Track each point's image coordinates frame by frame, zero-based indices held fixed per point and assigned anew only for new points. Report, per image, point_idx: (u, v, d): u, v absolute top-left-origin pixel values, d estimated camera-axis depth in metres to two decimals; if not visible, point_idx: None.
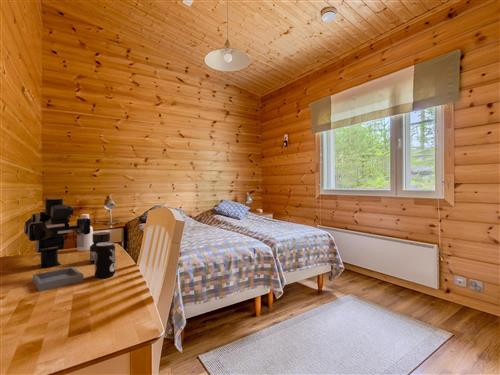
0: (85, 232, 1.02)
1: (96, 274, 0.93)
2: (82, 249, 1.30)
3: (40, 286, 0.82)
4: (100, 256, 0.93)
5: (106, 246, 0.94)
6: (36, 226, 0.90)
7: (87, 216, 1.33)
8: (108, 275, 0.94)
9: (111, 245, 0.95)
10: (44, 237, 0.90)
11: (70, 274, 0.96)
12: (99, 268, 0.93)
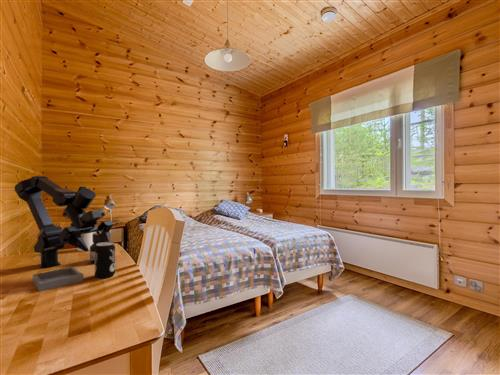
0: None
1: (96, 274, 0.93)
2: None
3: (40, 286, 0.82)
4: (100, 256, 0.93)
5: (106, 246, 0.94)
6: (73, 234, 0.91)
7: None
8: (108, 275, 0.94)
9: (111, 245, 0.95)
10: (76, 246, 0.93)
11: (70, 274, 0.96)
12: (99, 268, 0.93)
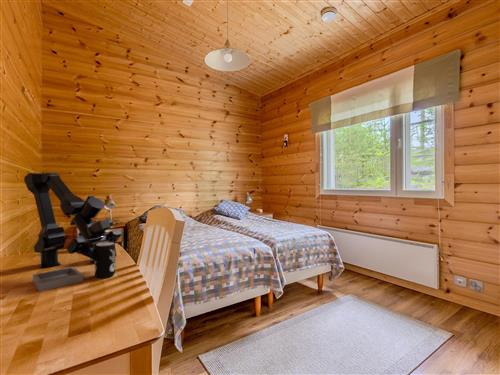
0: None
1: (96, 274, 0.93)
2: None
3: (40, 286, 0.82)
4: (100, 256, 0.93)
5: (106, 246, 0.94)
6: (85, 245, 0.91)
7: None
8: (108, 275, 0.94)
9: (111, 245, 0.95)
10: (88, 256, 0.93)
11: (70, 274, 0.96)
12: (99, 268, 0.93)
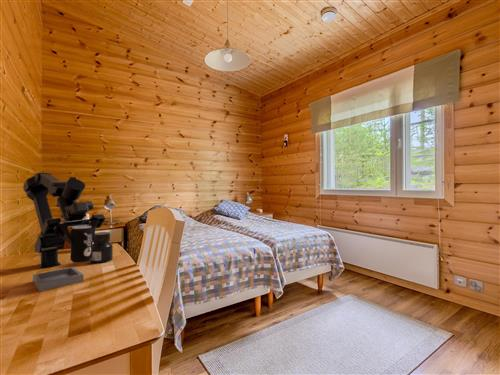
0: None
1: (71, 257, 0.90)
2: None
3: (40, 286, 0.82)
4: (74, 239, 0.89)
5: (80, 229, 0.90)
6: (58, 226, 0.88)
7: (87, 216, 1.33)
8: (82, 259, 0.90)
9: (86, 228, 0.91)
10: (63, 238, 0.90)
11: (70, 274, 0.96)
12: (72, 252, 0.90)
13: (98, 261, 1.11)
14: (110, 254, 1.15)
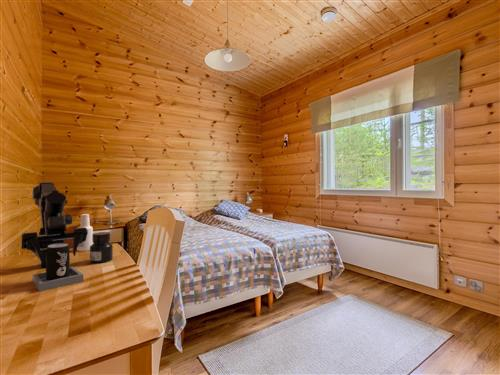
0: (80, 242, 0.99)
1: (46, 276, 0.89)
2: (82, 249, 1.30)
3: (40, 286, 0.82)
4: (47, 258, 0.88)
5: (53, 248, 0.88)
6: (29, 241, 0.87)
7: (87, 216, 1.33)
8: None
9: (60, 247, 0.89)
10: (35, 253, 0.88)
11: (70, 274, 0.96)
12: (46, 271, 0.88)
13: (98, 261, 1.11)
14: (110, 254, 1.15)
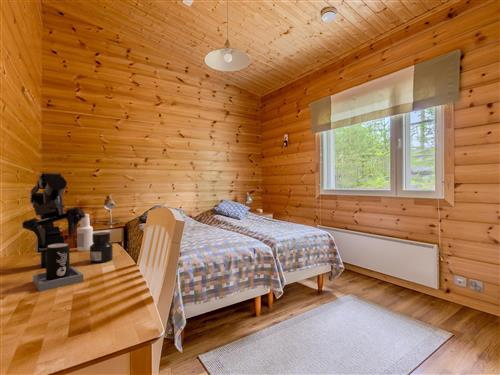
0: (79, 219, 1.02)
1: (46, 276, 0.89)
2: (82, 249, 1.30)
3: (40, 286, 0.82)
4: (47, 258, 0.88)
5: (53, 248, 0.88)
6: (28, 228, 0.95)
7: (87, 216, 1.33)
8: None
9: (60, 247, 0.89)
10: None
11: (70, 274, 0.96)
12: (46, 271, 0.88)
13: (98, 261, 1.11)
14: (110, 254, 1.15)
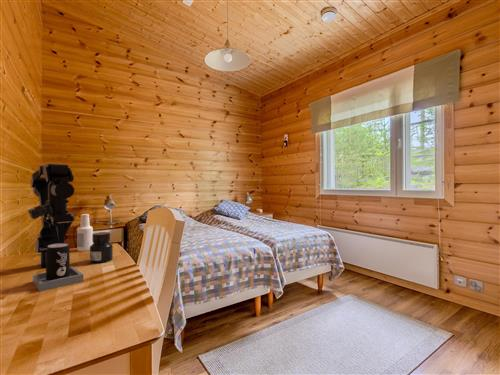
0: (69, 223, 0.95)
1: (46, 276, 0.89)
2: (82, 249, 1.30)
3: (40, 286, 0.82)
4: (47, 258, 0.88)
5: (53, 248, 0.88)
6: None
7: (87, 216, 1.33)
8: None
9: (60, 247, 0.89)
10: None
11: (70, 274, 0.96)
12: (46, 271, 0.88)
13: (98, 261, 1.11)
14: (110, 254, 1.15)
